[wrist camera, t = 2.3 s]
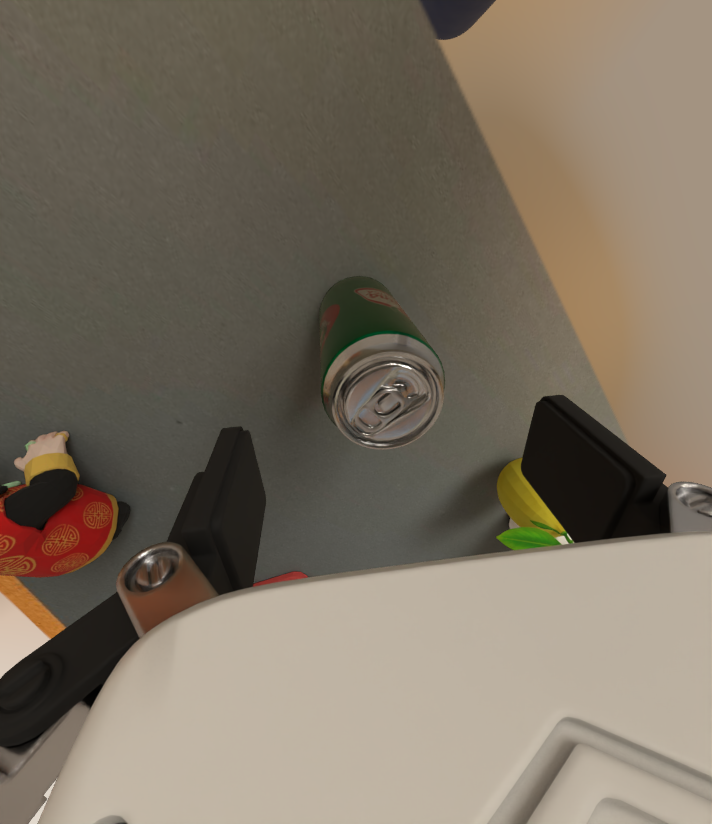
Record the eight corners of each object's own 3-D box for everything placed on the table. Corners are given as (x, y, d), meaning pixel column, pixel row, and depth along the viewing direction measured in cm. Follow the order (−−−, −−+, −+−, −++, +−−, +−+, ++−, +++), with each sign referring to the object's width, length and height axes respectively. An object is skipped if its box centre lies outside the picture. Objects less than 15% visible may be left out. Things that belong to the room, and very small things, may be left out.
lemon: (463, 476, 32) (516, 576, 24) (506, 428, 30) (581, 521, 21) (516, 497, 34) (581, 596, 26) (560, 454, 32) (647, 548, 24)
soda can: (409, 313, 24) (479, 401, 14) (356, 363, 25) (383, 476, 15) (357, 256, 22) (395, 310, 11) (303, 314, 23) (292, 408, 13)
